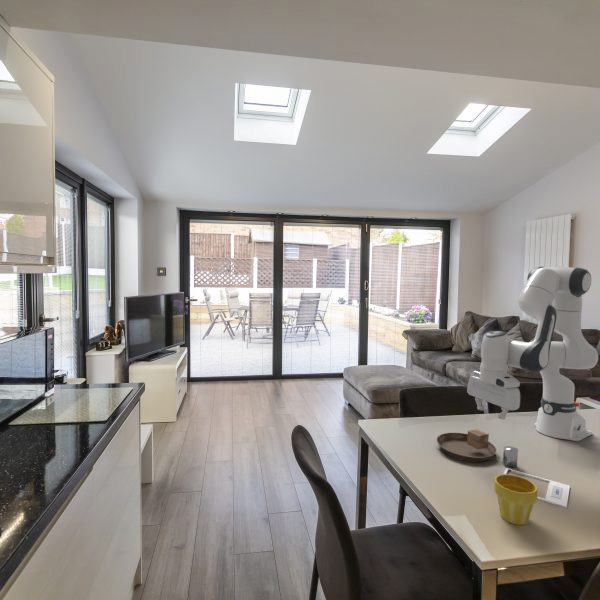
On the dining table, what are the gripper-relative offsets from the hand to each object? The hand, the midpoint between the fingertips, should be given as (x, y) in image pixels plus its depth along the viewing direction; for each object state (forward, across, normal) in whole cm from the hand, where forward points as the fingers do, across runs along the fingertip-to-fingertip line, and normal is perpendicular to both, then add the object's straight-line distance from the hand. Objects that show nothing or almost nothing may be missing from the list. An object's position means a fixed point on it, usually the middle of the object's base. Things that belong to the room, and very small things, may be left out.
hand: (490, 414), depth 145 cm
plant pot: (+16, +30, -24) cm, 41 cm away
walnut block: (+13, -4, -2) cm, 14 cm away
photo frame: (+16, +21, -3) cm, 27 cm away
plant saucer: (+16, -6, -4) cm, 18 cm away
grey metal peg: (+16, +8, +2) cm, 18 cm away
